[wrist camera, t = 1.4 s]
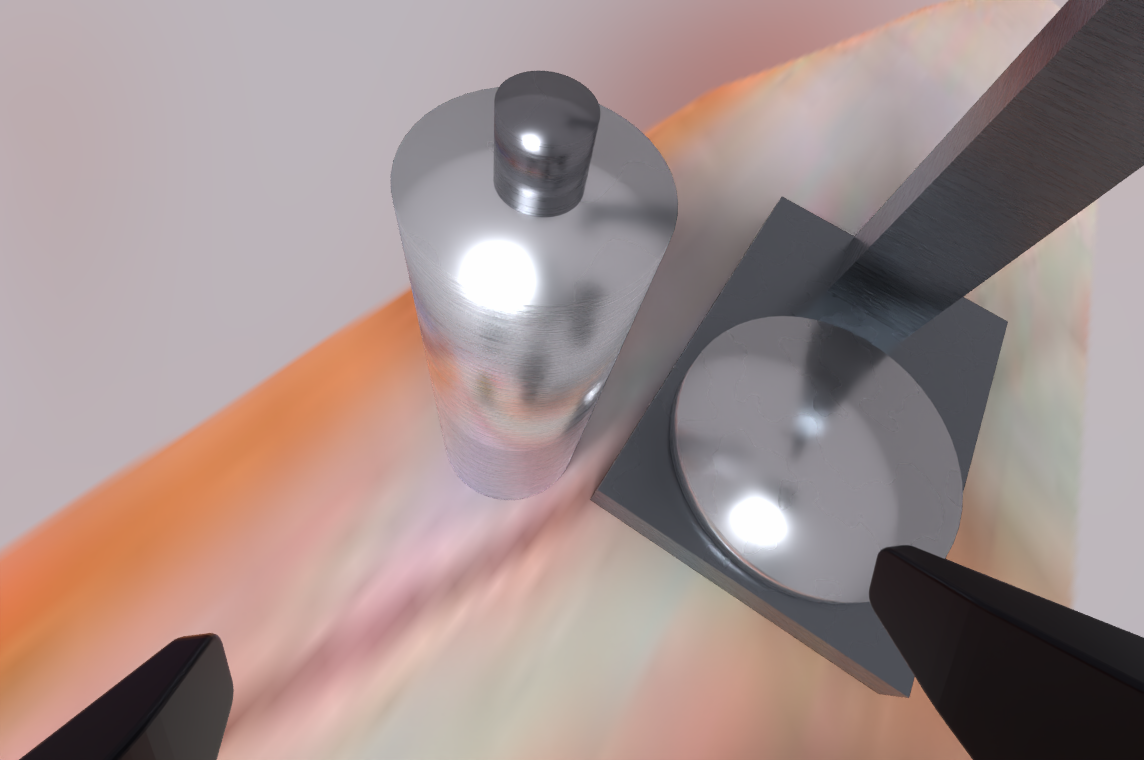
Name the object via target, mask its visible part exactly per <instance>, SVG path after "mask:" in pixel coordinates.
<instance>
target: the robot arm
mask: <svg viewBox="0 0 1144 760" xmlns="http://www.w3.org/2000/svg"><path fill="white" fill-rule="evenodd" d="M869 600H870V604H871V606H872V608H873V610H874V612H875V614H876V615H877V617H878V618H879V620H880V622H881V623H882V625H883V626H884V628H885V629H886V631H887V633H888V634H889V636H890V637H891V639H892V641H893V642H894V644H895V645H896V647H897V649H898V650H899V652H900V653H901V655H902V657H903V658H904V660H905V661H906V663H907V665H908V666H909V668H910V669H911V671H912V673H913V674H914V676H915V677H916V679H917V680H918V682H919V684H920V685H921V687H922V688H923V690H924V692H925V693H926V695H927V696H928V698H929V699H930V701H931V702H932V704H933V705H934V707H935V708H936V710H937V711H938V713H939V714H940V716H941V717H942V718H943V720H944V721H945V723H946V724H947V725H948V727H949V728H950V730H951V731H952V732H953V734H954V735H955V736H956V738H957V739H958V740H959V742H960V743H961V744H962V746H963V747H964V748H965V750H966V751H967V752H968V754H969V755H970V756H971V758H972V759H973V760H1144V638H1143V637H1140V636H1138V635H1135V634H1133V633H1130V632H1128V631H1125V630H1122V629H1120V628H1117V627H1115V626H1113V625H1110V624H1108V623H1105V622H1103V621H1100V620H1097V619H1095V618H1093V617H1090V616H1088V615H1085V614H1083V613H1080V612H1078V611H1075V610H1072V609H1070V608H1067V607H1065V606H1062V605H1060V604H1057V603H1055V602H1052V601H1050V600H1047V599H1045V598H1042V597H1040V596H1037V595H1035V594H1032V593H1030V592H1027V591H1025V590H1022V589H1020V588H1017V587H1015V586H1012V585H1010V584H1007V583H1005V582H1002V581H999V580H997V579H994V578H992V577H989V576H987V575H984V574H982V573H979V572H977V571H974V570H972V569H969V568H967V567H964V566H962V565H959V564H957V563H954V562H952V561H949V560H947V559H944V558H942V557H939V556H937V555H934V554H931V553H929V552H926V551H924V550H921V549H919V548H916V547H914V546H910V545H899V546H891V547H885V548H883V549H881V550H880V552H879V553H878V555H877V558H876V562H875V566H874V571H873V575H872V579H871V583H870V587H869ZM232 701H233V682H232V678H231V674H230V670H229V666H228V663H227V659H226V655H225V651H224V648H223V644H222V641H221V639H220V638H219V636H218V635H216V634H213V633H207V634H199V635H192V636H184V637H180V638H177V639H175V640H174V641H172V642H171V643H169V644H168V645H167V646H165V647H164V648H163V649H161V650H160V651H159V652H158V653H156V654H155V655H154V656H152V657H151V658H150V659H149V660H147V661H146V662H145V663H143V664H142V665H141V666H140V667H138V668H137V669H136V670H134V671H133V672H132V673H130V674H129V675H128V676H127V677H125V678H124V679H123V680H121V681H120V682H119V683H118V684H116V685H115V686H114V687H112V688H111V689H110V690H109V691H107V692H106V693H105V694H103V695H102V696H101V697H99V698H98V699H97V700H96V701H94V702H93V703H92V704H90V705H89V706H88V707H87V708H85V709H84V710H83V711H81V712H80V713H79V714H78V715H76V716H75V717H74V718H72V719H71V720H70V721H68V722H67V723H66V724H65V725H63V726H62V727H61V728H59V729H58V730H57V731H56V732H54V733H53V734H52V735H50V736H49V737H48V738H47V739H45V740H44V741H43V742H41V743H40V744H39V745H37V746H36V747H35V748H34V749H32V750H31V751H30V752H28V753H27V754H26V755H25V756H23V757H22V758H21V759H19V760H217V756H218V753H219V749H220V746H221V742H222V738H223V735H224V731H225V728H226V724H227V721H228V717H229V713H230V710H231V706H232Z"/></svg>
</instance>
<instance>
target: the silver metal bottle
mask: <svg viewBox="0 0 1144 760" xmlns="http://www.w3.org/2000/svg"><path fill="white" fill-rule="evenodd" d="M391 193H392V198H393V203H394V208H395V213H396V217H397V222H398V227H399V231H400V236H401V241H402V246H403V250H404V255H405V260H406V264H407V269H408V274H409V278H410V283H411V288H412V292H413V297H414V302H415V306H416V311H417V316H418V321H419V325H420V330H421V335H422V339H423V344H424V349H425V353H426V358H427V363H428V367H429V372H430V377H431V381H432V386H433V391H434V395H435V400H436V405H437V409H438V414H439V419H440V423H441V428H442V433H443V437H444V442H445V447H446V451H447V455H448V458H449V461H450V463H451V465H452V467H453V469H454V471H455V472H456V473H457V475H458V476H459V477H460V478H461V479H462V481H463V482H464V483H466V484H467V485H468V486H469V487H471V488H472V489H474V490H475V491H477V492H479V493H481V494H483V495H486V496H488V497H492V498H495V499H502V500H517V499H523V498H527V497H531V496H534V495H536V494H539V493H540V492H542V491H544V490H546V489H547V488H549V487H550V486H551V485H553V484H554V483H555V482H556V481H557V480H558V479H559V478H560V476H561V475H562V474H563V473H564V471H565V469H566V468H567V466H568V464H569V462H570V460H571V458H572V455H573V453H574V451H575V449H576V447H577V444H578V442H579V440H580V438H581V436H582V433H583V431H584V429H585V427H586V424H587V422H588V420H589V418H590V416H591V413H592V411H593V409H594V407H595V405H596V402H597V400H598V398H599V396H600V394H601V391H602V389H603V387H604V385H605V383H606V380H607V378H608V376H609V374H610V372H611V369H612V367H613V365H614V363H615V361H616V358H617V356H618V354H619V352H620V350H621V347H622V345H623V343H624V341H625V339H626V336H627V334H628V332H629V330H630V328H631V325H632V323H633V321H634V319H635V317H636V314H637V312H638V310H639V308H640V306H641V303H642V301H643V299H644V297H645V295H646V292H647V290H648V288H649V286H650V284H651V281H652V279H653V277H654V275H655V273H656V270H657V268H658V266H659V264H660V262H661V259H662V257H663V255H664V253H665V251H666V248H667V246H668V244H669V242H670V239H671V237H672V234H673V232H674V229H675V225H676V220H677V214H678V199H677V192H676V187H675V183H674V180H673V177H672V174H671V172H670V170H669V168H668V166H667V164H666V162H665V160H664V159H663V157H662V155H661V154H660V152H659V151H658V149H657V148H656V147H655V146H654V145H653V144H652V142H651V141H650V140H649V139H648V138H647V137H646V136H645V135H644V134H643V133H642V132H641V131H640V130H639V129H638V128H636V127H635V126H634V125H633V124H631V123H630V122H629V121H627V120H626V119H625V118H623V117H622V116H620V115H618V114H617V113H615V112H613V111H612V110H610V109H608V108H606V107H604V106H602V105H600V104H598V101H597V99H596V98H595V96H594V95H593V94H592V92H591V91H590V90H589V89H588V88H587V87H585V86H584V85H583V84H581V83H580V82H578V81H577V80H575V79H573V78H571V77H568V76H566V75H562V74H559V73H555V72H549V71H530V72H523V73H520V74H517V75H514V76H513V77H510V78H509V79H507V80H506V81H504V82H503V83H502V84H501V85H500V87H497V88H490V89H484V90H479V91H476V92H472V93H467V94H464V95H462V96H459V97H456V98H454V99H451V100H449V101H448V102H445V103H443V104H441V105H439V106H438V107H436V108H435V109H433V110H432V111H430V112H429V113H427V114H426V115H425V116H424V117H422V118H421V119H420V120H419V121H418V122H417V123H416V124H415V125H414V126H413V127H412V128H411V130H410V131H409V132H408V133H407V134H406V135H405V137H404V139H403V140H402V142H401V144H400V146H399V148H398V150H397V153H396V155H395V158H394V160H393V166H392V171H391Z"/></svg>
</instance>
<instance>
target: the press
mask: <svg viewBox="0 0 1144 760" xmlns="http://www.w3.org/2000/svg"><path fill="white" fill-rule="evenodd" d="M1143 165H1144V0H1068V2H1067V3H1066V4H1065V5H1064V6H1063V7H1062V8H1061V9H1060V10H1059V11H1058V13H1057V14H1056V15H1055V16H1054V17H1053V18H1052V19H1051V20H1050V21H1049V23H1048V24H1047V25H1046V26H1045V27H1044V28H1043V29H1042V30H1041V31H1040V32H1039V34H1038V35H1037V36H1036V37H1035V38H1034V39H1033V40H1032V41H1031V42H1030V44H1029V45H1028V46H1027V47H1026V48H1025V49H1024V50H1023V51H1022V52H1021V53H1020V55H1019V56H1018V57H1017V58H1016V59H1015V60H1014V61H1013V62H1012V63H1011V65H1010V66H1009V67H1008V68H1007V69H1006V70H1005V71H1004V72H1003V73H1002V74H1001V76H1000V77H999V78H998V79H997V80H996V81H995V82H994V83H993V84H992V86H991V87H990V88H989V89H988V90H987V91H986V92H985V93H984V94H983V95H982V97H981V98H980V99H979V100H978V101H977V102H976V103H975V104H974V105H973V107H972V108H971V109H970V110H969V111H968V112H967V113H966V114H965V115H964V116H963V118H962V119H961V120H960V121H959V122H958V123H957V124H956V125H955V126H954V128H953V129H952V130H951V131H950V132H949V133H948V134H947V135H946V136H945V137H944V139H943V140H942V141H941V142H940V143H939V144H938V145H937V146H936V147H935V149H934V150H933V151H932V152H931V153H930V154H929V155H928V156H927V157H926V158H925V160H924V161H923V162H922V163H921V164H920V165H919V166H918V167H917V168H916V169H915V171H914V172H913V173H912V174H911V175H910V176H909V177H908V178H907V179H906V181H905V182H904V183H903V184H902V185H901V186H900V187H899V188H898V189H897V190H896V192H895V193H894V194H893V195H892V196H891V197H890V198H889V199H888V200H887V202H886V203H885V204H884V205H883V206H882V207H881V208H880V209H879V210H878V211H877V213H876V214H875V215H874V216H873V217H872V218H871V219H870V220H869V221H868V223H867V224H866V225H865V226H864V227H863V228H862V229H861V230H860V231H859V232H858V234H857V235H856V236H855V237H854V236H852V235H851V234H849V233H847V232H845V231H843V230H841V229H840V228H838V227H836V226H834V225H832V224H831V223H829V222H827V221H825V220H823V219H822V218H820V217H818V216H816V215H814V214H813V213H811V212H809V211H807V210H805V209H804V208H802V207H800V206H798V205H796V204H795V203H793V202H791V201H789V200H787V199H786V198H784V197H781V199H780V200H779V202H778V203H777V205H776V206H775V208H774V209H773V211H772V212H771V214H770V215H769V217H768V218H767V220H766V222H765V223H764V225H763V226H762V228H761V230H760V231H759V233H758V234H757V236H756V237H755V239H754V241H753V242H752V244H751V245H750V247H749V249H748V250H747V252H746V253H745V255H744V256H743V258H742V260H741V261H740V263H739V264H738V266H737V268H736V269H735V271H734V272H733V274H732V276H731V277H730V279H729V280H728V282H727V283H726V285H725V287H724V288H723V290H722V291H721V293H720V295H719V296H718V298H717V299H716V301H715V302H714V304H713V306H712V307H711V309H710V310H709V312H708V314H707V315H706V317H705V318H704V320H703V321H702V323H701V325H700V326H699V328H698V329H697V331H696V333H695V334H694V336H693V337H692V339H691V341H690V342H689V344H688V345H687V347H686V348H685V350H684V352H683V353H682V355H681V356H680V358H679V360H678V361H677V363H676V364H675V366H674V367H673V369H672V371H671V372H670V374H669V375H668V377H667V379H666V380H665V382H664V383H663V385H662V386H661V388H660V390H659V391H658V393H657V394H656V396H655V398H654V399H653V401H652V402H651V404H650V405H649V407H648V409H647V410H646V412H645V413H644V415H643V417H642V418H641V420H640V421H639V423H638V425H637V426H636V428H635V429H634V431H633V432H632V434H631V436H630V437H629V439H628V440H627V442H626V444H625V445H624V447H623V448H622V450H621V451H620V453H619V455H618V456H617V458H616V459H615V461H614V463H613V464H612V466H611V467H610V469H609V470H608V472H607V474H606V475H605V477H604V478H603V480H602V482H601V483H600V485H599V486H598V488H597V490H596V491H595V493H594V494H593V496H592V497H591V499H590V500H591V501H593V502H594V503H596V504H597V505H599V506H600V507H602V508H603V509H605V510H606V511H608V512H609V513H611V514H612V515H614V516H615V517H617V518H618V519H620V520H621V521H623V522H624V523H626V524H627V525H629V526H630V527H632V528H633V529H635V530H636V531H637V532H639V533H640V534H642V535H643V536H645V537H646V538H648V539H649V540H651V541H652V542H654V543H655V544H657V545H658V546H660V547H661V548H663V549H664V550H666V551H667V552H669V553H670V554H672V555H673V556H675V557H676V558H678V559H679V560H681V561H682V562H684V563H685V564H687V565H688V566H689V567H691V568H692V569H694V570H695V571H697V572H698V573H700V574H701V575H703V576H704V577H706V578H707V579H709V580H710V581H712V582H713V583H715V584H716V585H718V586H719V587H721V588H722V589H724V590H725V591H727V592H728V593H730V594H731V595H733V596H734V597H736V598H737V599H739V600H740V601H741V602H743V603H744V604H746V605H747V606H749V607H750V608H752V609H753V610H755V611H756V612H758V613H759V614H761V615H762V616H764V617H765V618H767V619H768V620H770V621H771V622H773V623H774V624H776V625H777V626H779V627H780V628H782V629H783V630H785V631H786V632H788V633H789V634H791V635H792V636H793V637H795V638H796V639H798V640H799V641H801V642H802V643H804V644H805V645H807V646H808V647H810V648H811V649H813V650H814V651H816V652H817V653H819V654H820V655H822V656H823V657H825V658H826V659H828V660H829V661H831V662H832V663H834V664H835V665H837V666H838V667H840V668H841V669H843V670H844V671H846V672H847V673H848V674H850V675H851V676H853V677H854V678H856V679H857V680H859V681H860V682H862V683H863V684H865V685H866V686H868V687H869V688H871V689H872V690H874V691H875V692H877V693H878V694H883V695H890V696H898V697H906V698H909V696H910V692H911V688H912V685H913V681H914V677H915V676H914V674H913V673H912V671H911V669H910V668H909V666H908V665H907V663H906V661H905V660H904V658H903V657H902V655H901V653H900V652H899V650H898V649H897V647H896V645H895V644H894V642H893V641H892V639H891V637H890V636H889V634H888V633H887V631H886V629H885V628H884V626H883V625H882V623H881V622H880V620H879V618H878V617H877V615H876V614H875V612H874V610H873V608H872V606H871V604H870V600H869V587H870V583H871V579H872V575H873V571H874V566H875V562H876V558H877V555H878V553H879V552H880V550H881V549H883V548H885V547H891V546H899V545H910V546H914V547H916V548H919V549H921V550H924V551H926V552H929V553H931V554H934V555H937V556H939V557H942V558H944V559H946V556H947V554H948V552H949V550H950V549H951V547H952V545H953V543H954V540H955V537H956V534H957V531H958V529H959V524H960V519H961V513H962V499H963V490H964V487H965V483H966V479H967V475H968V471H969V468H970V464H971V460H972V456H973V452H974V449H975V445H976V441H977V437H978V433H979V430H980V426H981V422H982V418H983V414H984V411H985V407H986V403H987V399H988V395H989V391H990V388H991V384H992V380H993V376H994V372H995V369H996V365H997V361H998V357H999V353H1000V350H1001V346H1002V342H1003V338H1004V334H1005V331H1006V327H1007V323H1008V322H1007V321H1006V320H1004V319H1002V318H1000V317H998V316H997V315H995V314H993V313H991V312H989V311H988V310H986V309H984V308H982V307H980V306H979V305H977V304H975V303H973V302H971V301H969V300H968V299H966V298H964V297H963V296H965V295H966V294H967V293H969V292H970V291H971V290H973V289H974V288H976V287H977V286H978V285H980V284H981V283H982V282H984V281H985V280H987V279H988V278H989V277H991V276H992V275H993V274H995V273H996V272H998V271H999V270H1000V269H1002V268H1003V267H1004V266H1006V265H1007V264H1009V263H1010V262H1011V261H1013V260H1014V259H1015V258H1017V257H1018V256H1020V255H1021V254H1022V253H1024V252H1025V251H1026V250H1028V249H1029V248H1031V247H1032V246H1033V245H1035V244H1036V243H1037V242H1039V241H1040V240H1042V239H1043V238H1044V237H1046V236H1047V235H1048V234H1050V233H1051V232H1053V231H1054V230H1055V229H1057V228H1058V227H1059V226H1061V225H1062V224H1064V223H1065V222H1066V221H1068V220H1069V219H1070V218H1072V217H1073V216H1075V215H1076V214H1077V213H1079V212H1080V211H1081V210H1083V209H1084V208H1086V207H1087V206H1088V205H1090V204H1091V203H1092V202H1094V201H1095V200H1097V199H1098V198H1099V197H1101V196H1102V195H1103V194H1105V193H1106V192H1107V191H1109V190H1110V189H1112V188H1113V187H1114V186H1116V185H1117V184H1118V183H1120V182H1121V181H1123V180H1124V179H1125V178H1127V177H1128V176H1129V175H1131V174H1132V173H1134V172H1135V171H1136V170H1138V169H1139V168H1141V167H1142V166H1143Z"/></svg>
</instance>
